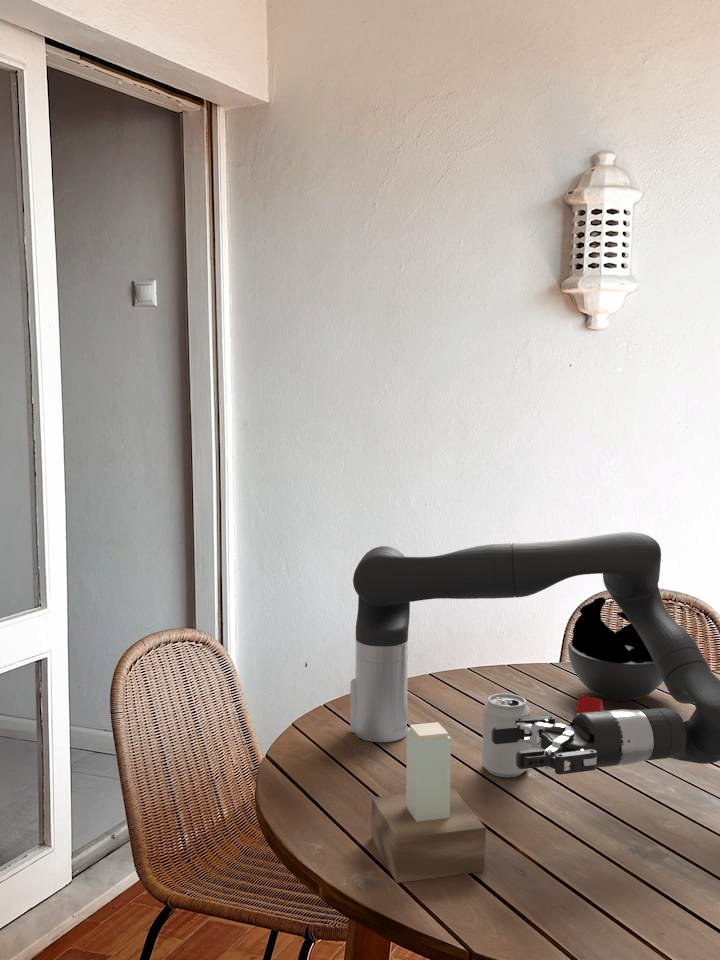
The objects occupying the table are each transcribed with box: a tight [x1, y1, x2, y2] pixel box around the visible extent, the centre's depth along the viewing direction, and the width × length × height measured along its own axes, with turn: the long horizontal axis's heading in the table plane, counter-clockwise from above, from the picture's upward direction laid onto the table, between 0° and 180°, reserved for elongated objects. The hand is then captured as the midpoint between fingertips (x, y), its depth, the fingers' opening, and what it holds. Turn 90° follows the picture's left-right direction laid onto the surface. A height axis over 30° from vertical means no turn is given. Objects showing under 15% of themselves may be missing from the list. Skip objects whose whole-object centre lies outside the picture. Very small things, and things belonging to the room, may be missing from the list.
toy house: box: [574, 694, 605, 717], centre depth 175 cm, size 6×7×8 cm
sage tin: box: [405, 721, 452, 822], centre depth 132 cm, size 5×5×12 cm
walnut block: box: [370, 788, 487, 884], centre depth 133 cm, size 12×12×6 cm
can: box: [481, 693, 531, 778], centre depth 160 cm, size 8×8×12 cm
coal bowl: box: [567, 596, 664, 702], centre depth 194 cm, size 20×20×19 cm
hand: (504, 748), depth 135 cm, fingers open, 8 cm apart
